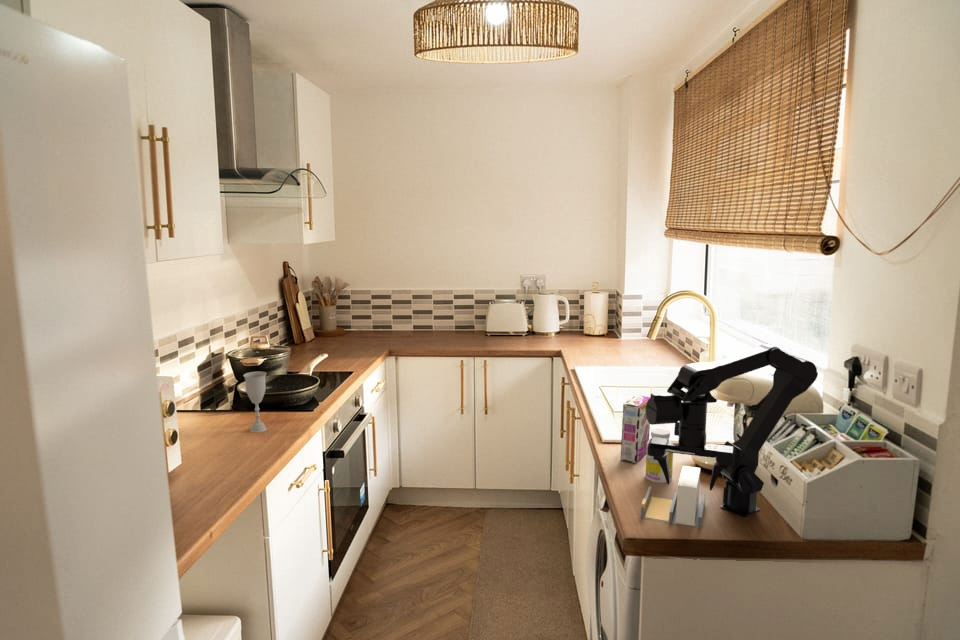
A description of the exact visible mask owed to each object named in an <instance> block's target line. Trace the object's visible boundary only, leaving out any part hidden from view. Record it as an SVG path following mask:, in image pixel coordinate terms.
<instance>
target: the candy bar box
mask: <svg viewBox="0 0 960 640" xmlns="http://www.w3.org/2000/svg"><path fill="white" fill-rule="evenodd" d="M649 399H650V396H644V395H637V394H636V395H634V396H633V397H632V398H630V399H629V400H627V401H626V402H625V403H623V405H622V407H623V408H622V424H621V441H620V443H621V444H620V461H622V462H628V463H631V464H637V463H638V462H640V460H641V459H643V458H644V456H645V455H646V451H647V442H648V440H650V432H651V431H650V430H651V424H650V423H649V422H648V420H647V417H646V411H645V407H646V405H647V402H648V400H649Z"/></svg>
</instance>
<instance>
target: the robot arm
mask: <svg viewBox="0 0 960 640" xmlns="http://www.w3.org/2000/svg"><path fill="white" fill-rule="evenodd" d="M767 366H771V367H772V368H774V369H775V371H774V373H773V378H772V379H773V380H772V387H771V389H770V391H769V392H768V393H767V395H766V397H765V398H764V400H763V402H762V403H761V404H760V406H759V408H758V410H757V411H756V413H755V414H754V416H753V417H752V419H751V420H750V422H749V423H748V425H747V426H746V427H745V428H746V429H745V430H744V432H742V435H741V436H740V437H739V439H738V440H736V441H734V442H732V443H731V442H730V441H729V440H727V441H726V442H725V443H724V444H717V446H716V448H708V447H706V444H707V442H706V441H707V411H708V404H711V403H713V404H714V403H717V401H718V400H717V398H716V397H715V396H713V395H712V393H711V391H714V390H716V389H717V388H718V387H719V386H720V385H722V383H724V382H725V381H727V380H730V379H733V378H736V377H740V376H742V375H744V374H747V373H750V372H753V371H756V370H759V369H761V368H764V367H767ZM817 369H818V368H817V367H816V364H814V363H813V362H812V361H809V360H806V359H804V358H800V357H798V356H796V355H791V354H788V353H787V352H785V351H783V350H781V348H779V347H777V346H775V345H772V344H769V343H763V344H760V345H759V346H757V347H754V348H751V349H748V350H745V351H743V352H739V353H736V354H733V355H731V356H727V357H725V358H722V359H719V360H718V359H717V360H716V361H700V362H693V363H687V364H685V365H683V366H681V367H680V369H679V371H678V374H677V376H676V377H675V379H674V380H673V382H672V383H671V384H670V386H669V387H668V388H667V390H666V392H665V393H658V392H654V393H652V392H651V393H650V396H649V397H650V399H649V400H648V402H647V405H646V407H645V411H646V417H647V420H648V422H649V423H650V425H652V426H653V425H666V424H674V429H673V430H674V431H673V433H674V436H676V437H677V436H678V442H677V443H678V444H668V439H666V438H658V437H651V438H649V440H650V441H649V444H648V452H647V455H649V456H653V459H654V460H657V461H658V463H659V464H660V466H661V468H662V470H663V473H664V476H665V479H666V481H667V482H666V484H667V485H668V486H670V483H671V481H670V468H669V452H671V453H673V454H680V455H688V456H689V455H690V456H695V457H696V456H697V457H705V458H712V459H714V462H713V467H712V472H711V477H710V482H709V491H712V490H713V488H714V486H715V483H716V482H717V480H718V478H719V476H720V475H721V476H722V479H723V480H725V486H723V493H722V494H723V496H722V505H720V507H719V508H720V509H721V510H724V511H726V512H729V513H732V514H735V515H737V516H740V517H742V518H747V517H749V516H751V515H753V514H755V513H758V512H759V511H760V508H759V507H758V506H757V500H758V499H757V498H758V493H759V492H761V491H762V489H763V486H764V485H765V482H764V481H763V480H762V479H761V478H760V477H759V476H758V475H757V474H756V471H757V469H758V467H759V459H760V458H759V457H760V451H761V450H762V447H763V446H764V445H765V443H766V442H767V440H768V438H769V437H770V436H771V434H772V432H773V431H774V429H775V428H776V426H777V425H778V423H779V421H780V420H781V419H782V417H783V415H784V413H785V412H786V410H788V407H789V406H790V404H791V403H792V401H793V400H794V399H795V398H797V397H799V396H800V395H801V394H803V393H805V392H807V391H808V390H809V389H810V387H811V386H812V385H813V384H814V382H815V381H817V378H818V376H819V375H818V370H817ZM683 389H685V390H687V391H684V390H683Z"/></svg>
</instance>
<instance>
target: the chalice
mask: <svg viewBox="0 0 960 640" xmlns="http://www.w3.org/2000/svg"><path fill="white" fill-rule="evenodd" d="M267 373H268V372H266V371H259V370H258V371H250V372H246V373H244V374H243V375H242V376H243V377H244V381H245V382H244V383H245V392H246V394H247V396H248V398H249V400H250V401H251V403H252V404H254V405H255V408H254V411H255V414H254V417H255V421H254V422H253V423H252V424H251V427H250V429H249V432H250V433H253V434H254V433H257V434H258V433H264V432H265V431H267V427H266V425H265V423H264V422H263V421H261V420H260V416H261V414H260V409H261V408H260V407H259V404H261V403H262V401H263V399H264V396H265V393H266V386H267V385H266V376H267Z"/></svg>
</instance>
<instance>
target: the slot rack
mask: <svg viewBox="0 0 960 640" xmlns="http://www.w3.org/2000/svg"><path fill="white" fill-rule="evenodd" d="M677 490H678V489H677ZM677 490H675V491H674V494H673V499H672V498H665V497H658V496H653V495H652V486H648V488H647V490H646V494H645V496H644V498H642V501H641V503H640V504H641V505H640V506H641V507H640V519H644V520H648V521H649V520H650V521H656V522H662V523H669V524H674V525H681V526H686V527H692V528H698V529H701V528H702V524H703V519H704V518H703V517H704V512H705V505H706V494H704V493H702V495H701V502H700V503H698V509H697V515H696V520H695V526H690V525H684V524H678V523H676V509H677Z"/></svg>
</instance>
